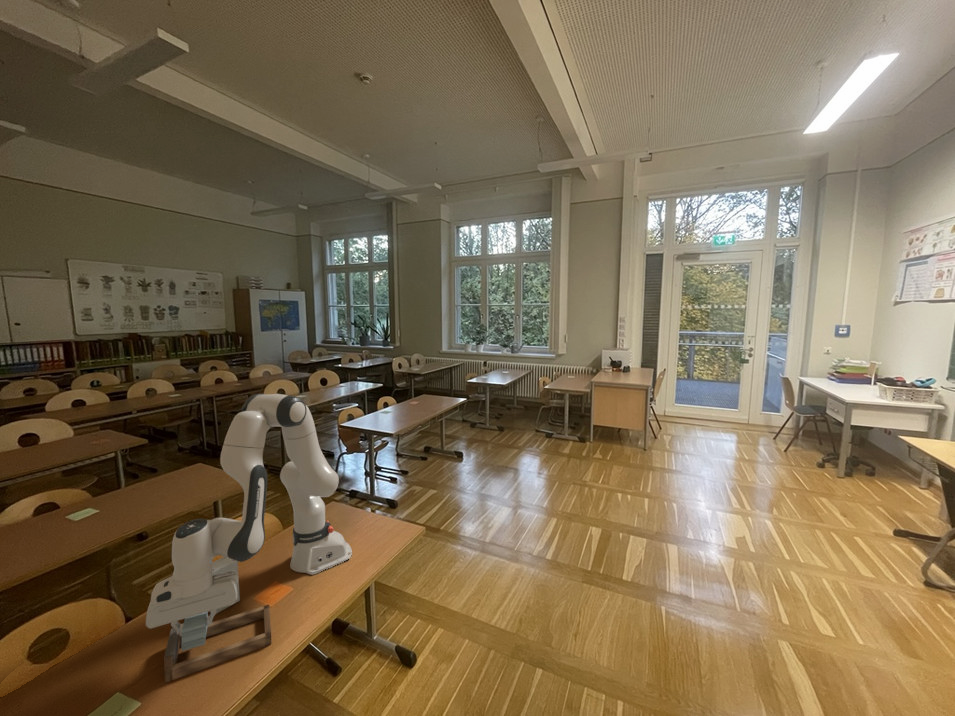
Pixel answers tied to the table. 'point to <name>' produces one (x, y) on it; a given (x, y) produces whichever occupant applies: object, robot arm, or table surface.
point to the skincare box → (224, 567)
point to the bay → (221, 654)
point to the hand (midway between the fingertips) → (195, 628)
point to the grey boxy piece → (194, 631)
